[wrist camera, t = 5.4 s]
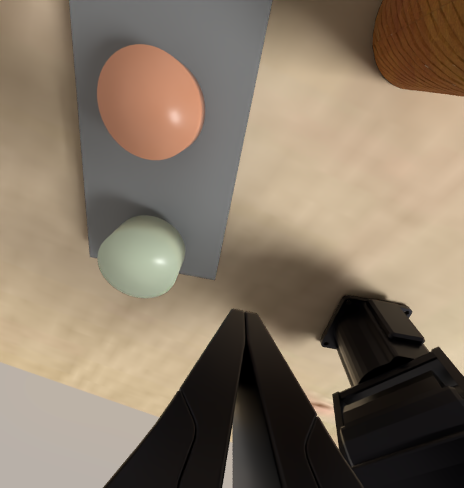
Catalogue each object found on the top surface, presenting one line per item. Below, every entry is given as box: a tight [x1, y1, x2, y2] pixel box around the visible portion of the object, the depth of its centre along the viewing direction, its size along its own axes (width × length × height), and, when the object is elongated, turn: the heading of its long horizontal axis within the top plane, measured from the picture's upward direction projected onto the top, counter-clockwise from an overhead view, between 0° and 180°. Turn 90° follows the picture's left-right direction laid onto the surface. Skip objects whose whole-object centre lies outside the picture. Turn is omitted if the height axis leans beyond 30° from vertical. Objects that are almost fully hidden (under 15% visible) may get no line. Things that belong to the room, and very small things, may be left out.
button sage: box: [98, 215, 185, 298], centre depth 17 cm, size 5×5×2 cm
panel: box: [69, 0, 272, 280], centre depth 16 cm, size 23×10×2 cm, turn 169°
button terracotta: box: [97, 44, 205, 160], centre depth 14 cm, size 5×5×2 cm
